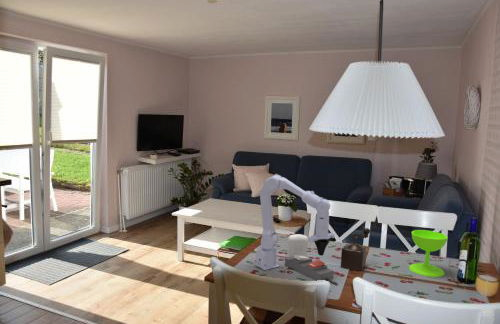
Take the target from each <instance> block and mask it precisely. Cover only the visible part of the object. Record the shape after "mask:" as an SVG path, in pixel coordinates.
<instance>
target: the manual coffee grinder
mask: <svg viewBox="0 0 500 324" xmlns="http://www.w3.org/2000/svg"><path fill="white" fill-rule="evenodd" d="M362 232H363V235H362V236H357V233H353V236H352V238H353V242H352V243H350V244H349V243H346V244H345V245H344V246H343V247H342V248H341V254H340V255H341V256H340V268H342V269H348V270H353V271H357V272H362V271H363V270H364V269H365V268H366V264H367V263H366V260H367V246H363V245H362V244H361V245H360V244H358V243H356V242H357V241H356V239H367V238H369V234H370V233H371V229H370V228H367V227H364V228H362Z"/></svg>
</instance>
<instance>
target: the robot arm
mask: <svg viewBox="0 0 500 324" xmlns="http://www.w3.org/2000/svg"><path fill="white" fill-rule="evenodd" d="M277 189H279V190H287V191H289V192H291V193H292V194H294V195H296V196H298V197H300V198H301V200H302V202H303V203H305V204H306V205H308V206H310V207H312V209H315V211H316V218H315V234H313V235H312V236H308V243H313V242H314V245H315V247H316V249H317V255H318V256H324V253H325V251H326V249H327V246H328V245H329V243H330V240H329V239H334V238H335V233H334V232H333V233H332V232H329V228H330V227H329V225H330V224H329V223H330V209H331V203H330V202H329V200H327V198H324V197H322V196H321V197H320V196H319V195H317V194H315V191H314V190H311V191H310V190H304V189H302V188H301V187H299V186H297V185H296V184H295V183H294V182H292V181H290V180H288V179H287V178H286V177H283V176H282V175H280V174H274V175H272V176H269V177H268V178H266V180H265V181H263V185H262V187H261V189H260V191H259V198H260V208H261V210H260V211H261V220H262V222H261V223H262V232H261V240H260V246H261V248H259V249H258V250H256V253H255V264H254V265H255V267H258V268H259V269H262V270H263V271H267V270H271V269H275V268H279V267H280V266H281V265H280V264H278V263H277V251H278V250H277V248H278V246H277V243H279V236H278V234H277V232H276V230H277V229H276V228H275V227H274V225H275V224H274V215H273V205H272V197H271V196H272V195H273V193H274V192H275V191H276V190H277Z"/></svg>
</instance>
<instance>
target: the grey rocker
mask: <svg viewBox="0 0 500 324" xmlns="http://www.w3.org/2000/svg"><path fill="white" fill-rule="evenodd" d="M307 257H308V256H307ZM307 257H305V256H297V255H294V258H295V259H297V260H303V261H304V260H309V258H310V257H308V258H307Z"/></svg>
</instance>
